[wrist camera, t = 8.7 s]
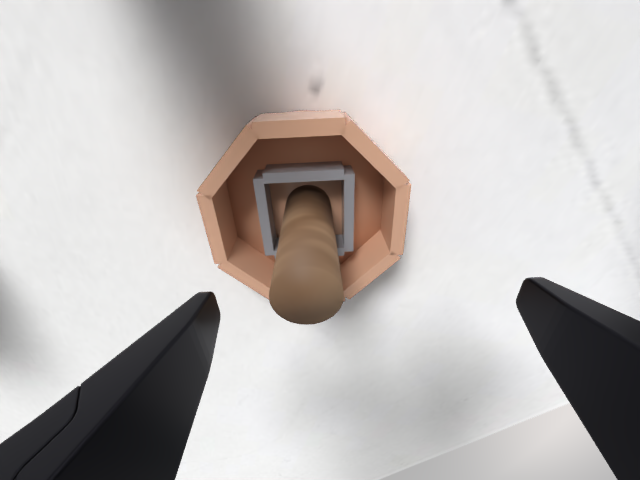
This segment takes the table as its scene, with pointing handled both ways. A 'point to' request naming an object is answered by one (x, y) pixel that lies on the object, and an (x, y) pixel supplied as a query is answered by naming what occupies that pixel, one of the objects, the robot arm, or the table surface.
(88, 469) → the robot arm
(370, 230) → the tan polygonal bowl
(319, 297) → the wooden dowel rod
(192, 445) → the table surface
